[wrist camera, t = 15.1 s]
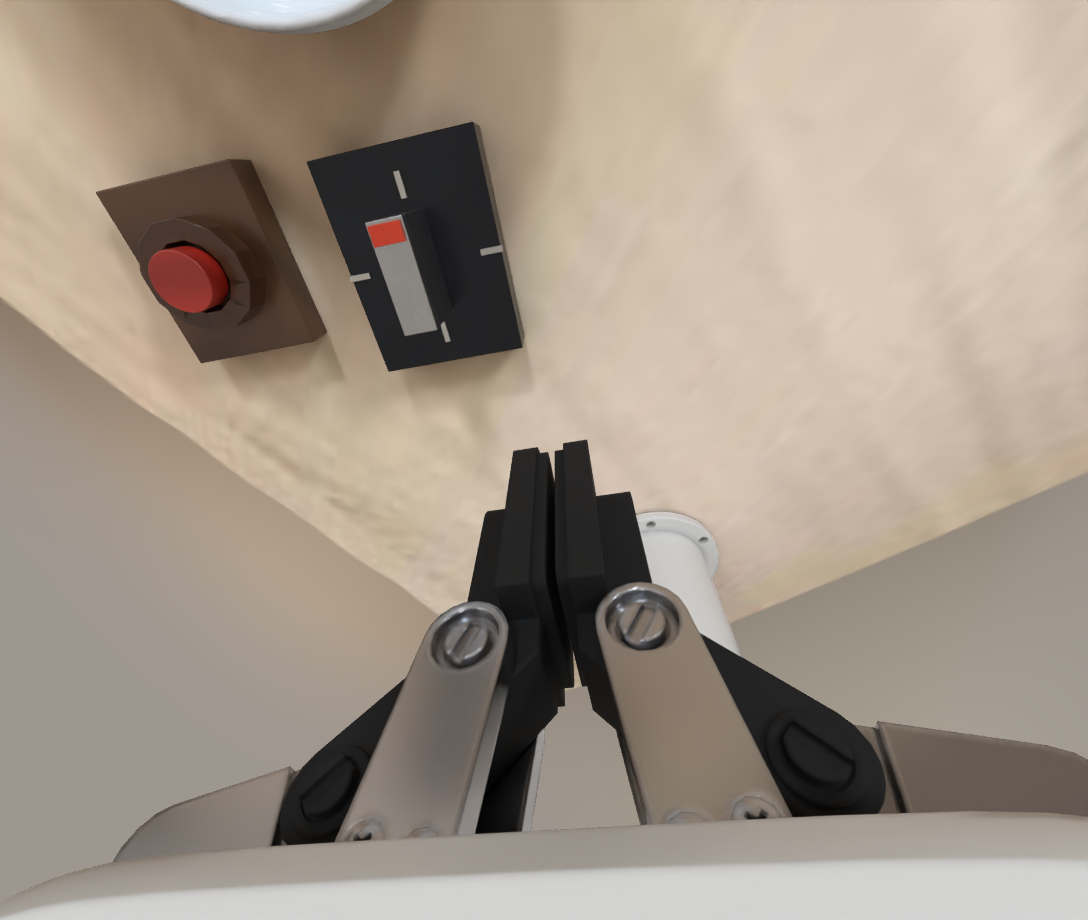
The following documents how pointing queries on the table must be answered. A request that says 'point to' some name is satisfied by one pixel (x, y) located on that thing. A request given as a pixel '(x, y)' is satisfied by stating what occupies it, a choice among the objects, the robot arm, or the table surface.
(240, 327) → the control block
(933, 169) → the table surface
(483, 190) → the tap console
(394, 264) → the rotary selector knob
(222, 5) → the serving bowl
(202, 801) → the robot arm
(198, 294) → the button
